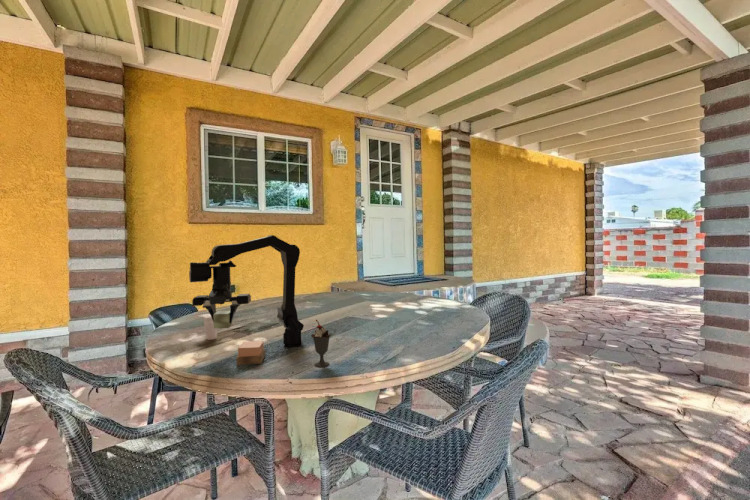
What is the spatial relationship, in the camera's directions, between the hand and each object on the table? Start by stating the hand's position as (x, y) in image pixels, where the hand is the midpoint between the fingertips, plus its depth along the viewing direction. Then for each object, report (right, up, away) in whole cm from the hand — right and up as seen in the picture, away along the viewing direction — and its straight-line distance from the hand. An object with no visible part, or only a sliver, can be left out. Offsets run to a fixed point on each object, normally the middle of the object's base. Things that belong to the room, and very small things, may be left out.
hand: (223, 323), depth 131 cm
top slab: (+11, -10, -4) cm, 15 cm away
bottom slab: (+11, -13, -4) cm, 17 cm away
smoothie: (-15, -11, +24) cm, 30 cm away
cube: (0, -1, 0) cm, 1 cm away
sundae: (+37, -12, -9) cm, 40 cm away
